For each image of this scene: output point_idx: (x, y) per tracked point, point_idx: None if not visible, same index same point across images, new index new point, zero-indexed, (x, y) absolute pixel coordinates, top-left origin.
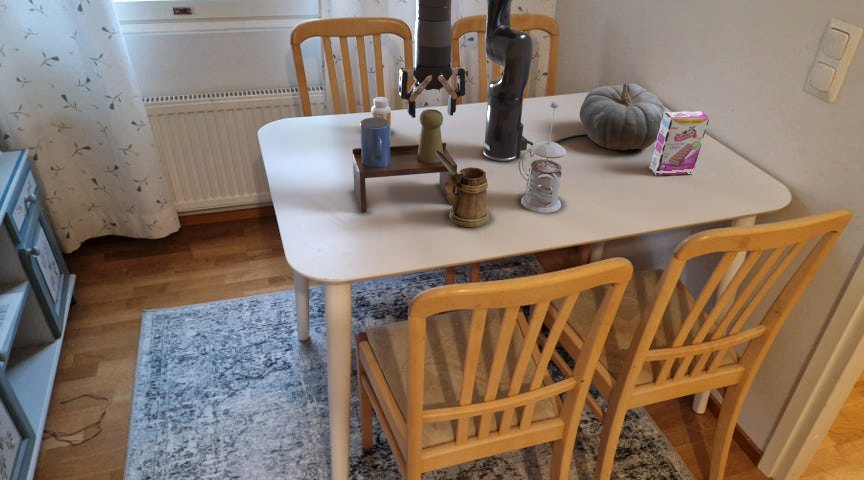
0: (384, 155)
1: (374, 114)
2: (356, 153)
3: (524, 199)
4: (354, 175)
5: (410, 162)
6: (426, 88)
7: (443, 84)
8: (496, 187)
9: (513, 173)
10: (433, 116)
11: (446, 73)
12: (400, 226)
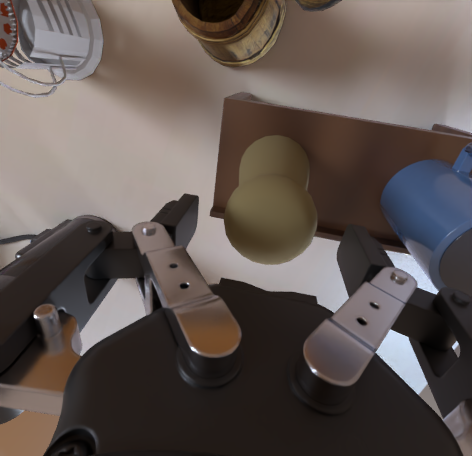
0: (438, 170)
1: None
2: None
3: (92, 45)
4: None
5: (340, 159)
6: (317, 304)
7: (198, 286)
8: (135, 132)
9: (90, 173)
10: (278, 195)
11: (137, 365)
12: (406, 29)
